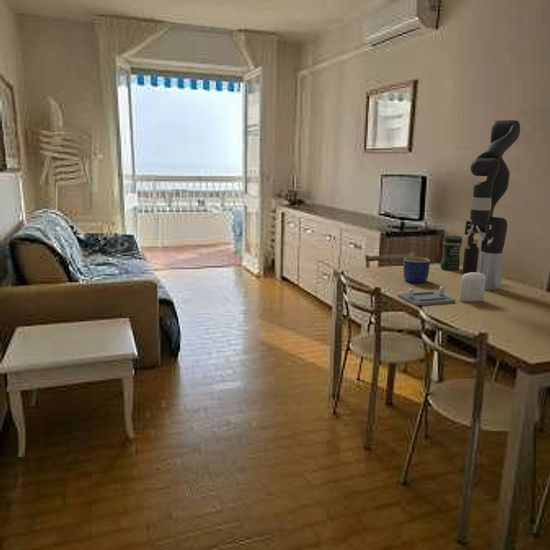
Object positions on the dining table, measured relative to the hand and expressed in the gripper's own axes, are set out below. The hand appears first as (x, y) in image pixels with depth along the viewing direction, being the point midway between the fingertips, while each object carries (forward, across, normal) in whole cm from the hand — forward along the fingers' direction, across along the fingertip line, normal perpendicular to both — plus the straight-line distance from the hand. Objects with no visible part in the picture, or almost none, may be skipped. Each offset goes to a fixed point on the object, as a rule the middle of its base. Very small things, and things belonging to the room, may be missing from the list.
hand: (476, 247), depth 200 cm
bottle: (+23, +36, -26) cm, 50 cm away
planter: (+23, +36, +5) cm, 43 cm away
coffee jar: (+23, +55, -28) cm, 66 cm away
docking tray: (+23, +6, +18) cm, 30 cm away
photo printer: (+23, 0, 0) cm, 23 cm away
